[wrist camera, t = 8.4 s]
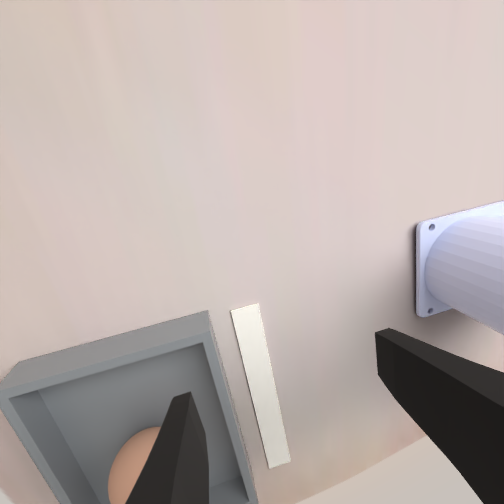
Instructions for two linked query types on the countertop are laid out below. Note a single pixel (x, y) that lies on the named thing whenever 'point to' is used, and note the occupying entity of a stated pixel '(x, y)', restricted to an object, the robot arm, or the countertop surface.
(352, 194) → the countertop surface
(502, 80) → the countertop surface
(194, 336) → the tray
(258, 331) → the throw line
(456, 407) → the robot arm
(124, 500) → the ball
